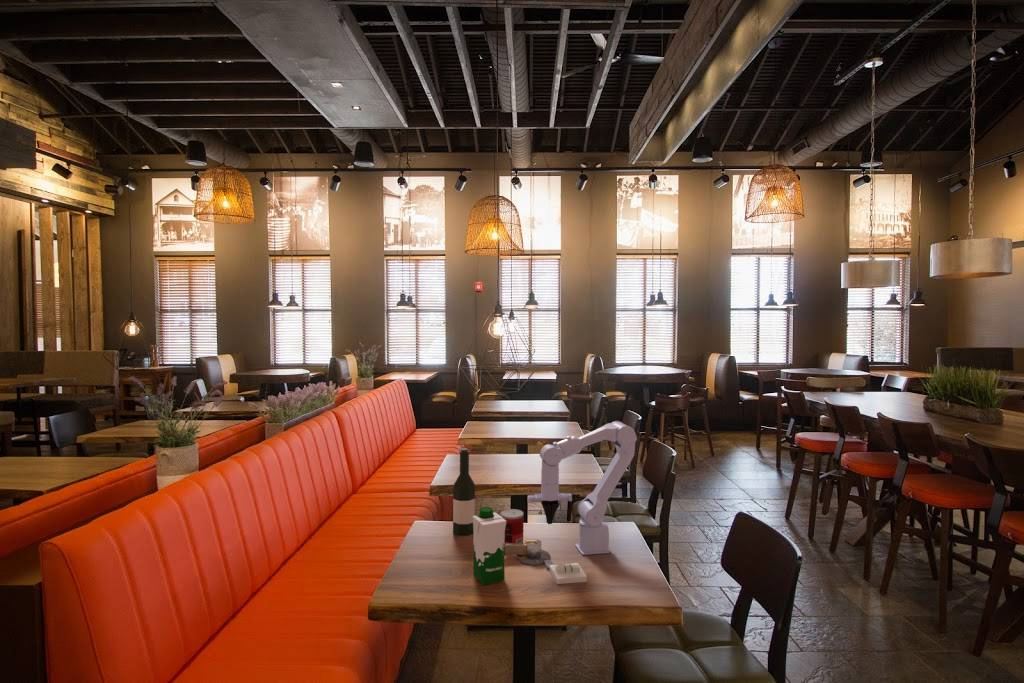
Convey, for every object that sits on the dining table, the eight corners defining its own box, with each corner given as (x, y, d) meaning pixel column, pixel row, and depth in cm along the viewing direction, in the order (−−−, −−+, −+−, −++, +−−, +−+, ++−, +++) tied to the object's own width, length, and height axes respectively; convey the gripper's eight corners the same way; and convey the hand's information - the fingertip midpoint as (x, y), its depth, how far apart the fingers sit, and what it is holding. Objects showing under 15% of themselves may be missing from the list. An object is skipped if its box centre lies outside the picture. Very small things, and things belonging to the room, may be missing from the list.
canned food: (524, 540, 190) (524, 509, 189) (522, 550, 182) (522, 517, 181) (502, 539, 191) (502, 508, 190) (499, 549, 183) (499, 516, 182)
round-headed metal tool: (540, 551, 179) (540, 537, 179) (542, 558, 174) (542, 543, 174) (497, 552, 178) (497, 538, 178) (498, 559, 173) (498, 544, 173)
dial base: (545, 549, 183) (545, 546, 183) (557, 569, 169) (557, 565, 169) (513, 551, 181) (513, 548, 181) (522, 571, 167) (522, 568, 167)
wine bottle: (479, 528, 200) (479, 447, 199) (470, 537, 192) (470, 452, 191) (458, 525, 203) (458, 445, 201) (448, 534, 195) (448, 450, 193)
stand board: (577, 567, 170) (577, 556, 170) (586, 581, 161) (586, 569, 161) (549, 569, 168) (549, 558, 168) (557, 584, 159) (557, 572, 159)
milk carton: (495, 568, 169) (496, 504, 168) (509, 581, 161) (509, 514, 160) (469, 574, 165) (469, 508, 164) (481, 587, 157) (482, 519, 156)
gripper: (567, 477, 185) (567, 517, 185) (525, 479, 182) (525, 519, 183) (574, 484, 178) (573, 525, 178) (530, 485, 175) (529, 527, 176)
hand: (549, 523), depth 180 cm, fingers closed
